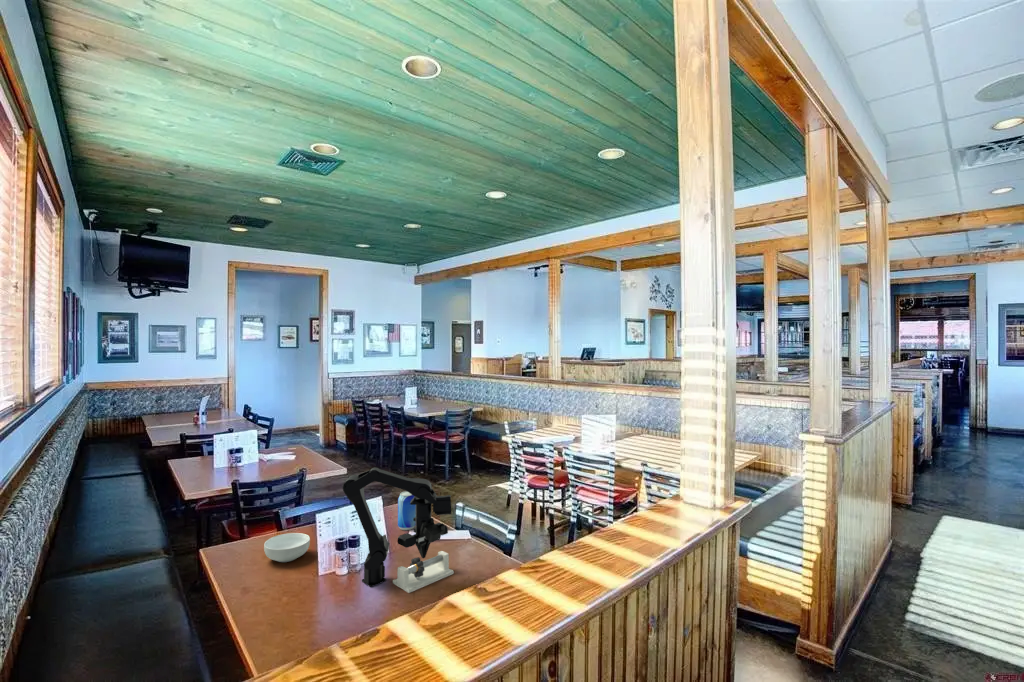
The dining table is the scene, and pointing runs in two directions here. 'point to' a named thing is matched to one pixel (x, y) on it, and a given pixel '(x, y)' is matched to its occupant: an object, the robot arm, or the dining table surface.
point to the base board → (429, 575)
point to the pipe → (426, 563)
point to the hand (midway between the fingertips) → (423, 557)
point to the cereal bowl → (286, 546)
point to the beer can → (406, 511)
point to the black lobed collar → (419, 564)
